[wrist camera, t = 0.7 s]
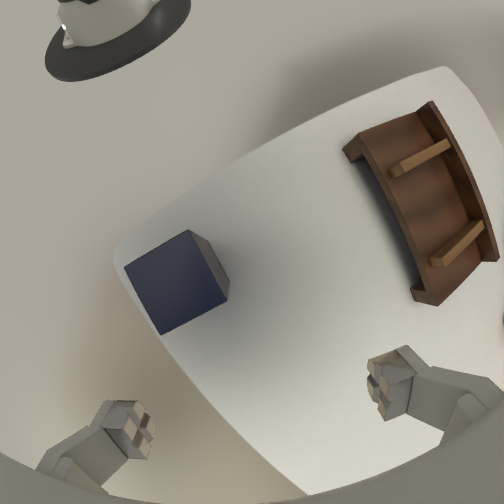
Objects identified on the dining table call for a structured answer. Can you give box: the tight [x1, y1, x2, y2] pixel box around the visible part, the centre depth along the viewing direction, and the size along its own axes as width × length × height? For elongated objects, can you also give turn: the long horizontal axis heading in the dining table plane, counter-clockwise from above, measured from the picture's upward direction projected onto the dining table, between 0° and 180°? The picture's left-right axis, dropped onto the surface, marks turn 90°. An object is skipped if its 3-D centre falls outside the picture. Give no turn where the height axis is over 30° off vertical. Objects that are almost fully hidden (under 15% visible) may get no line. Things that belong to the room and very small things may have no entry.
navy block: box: [124, 230, 230, 335], centre depth 23 cm, size 5×5×13 cm
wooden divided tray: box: [343, 101, 500, 307], centre depth 27 cm, size 22×12×8 cm, turn 29°
